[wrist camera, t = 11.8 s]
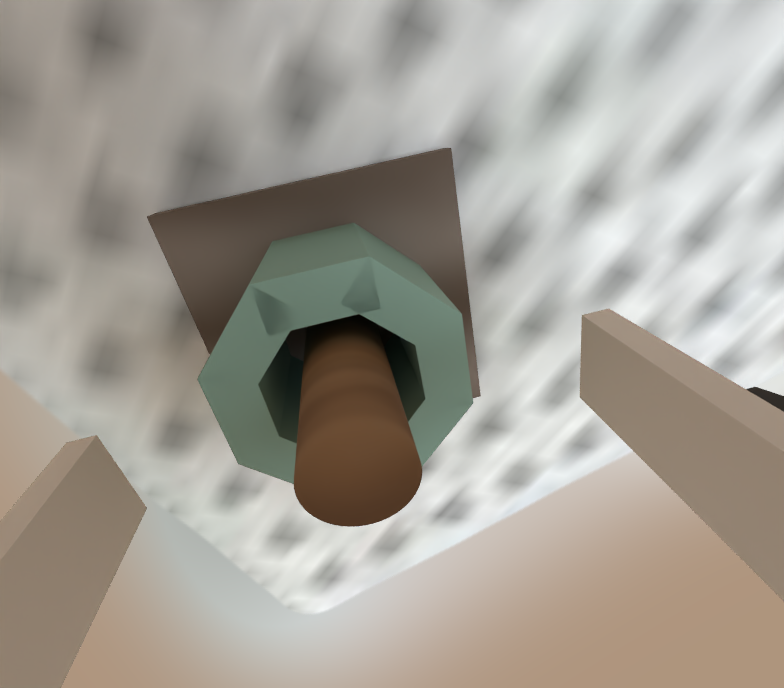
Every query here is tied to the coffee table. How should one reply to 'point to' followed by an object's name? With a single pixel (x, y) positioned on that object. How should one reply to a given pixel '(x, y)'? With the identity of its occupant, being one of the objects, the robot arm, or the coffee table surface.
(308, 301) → the collar
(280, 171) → the coffee table surface
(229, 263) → the post stand
